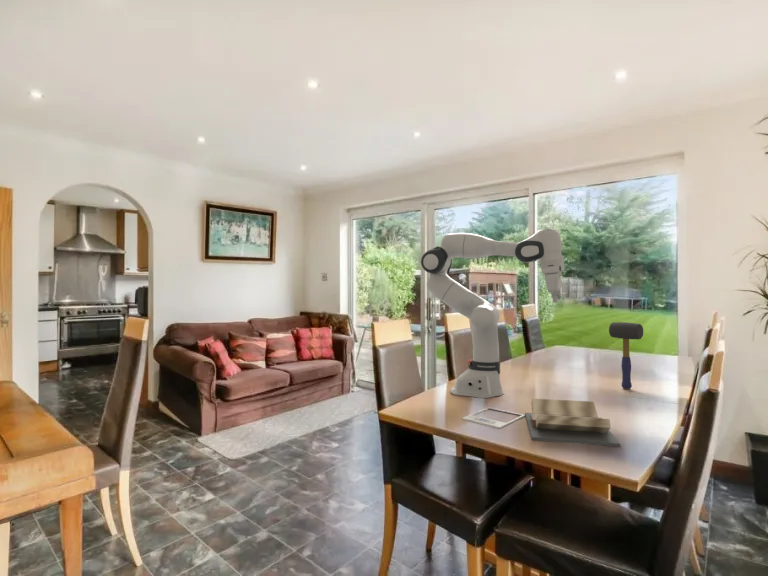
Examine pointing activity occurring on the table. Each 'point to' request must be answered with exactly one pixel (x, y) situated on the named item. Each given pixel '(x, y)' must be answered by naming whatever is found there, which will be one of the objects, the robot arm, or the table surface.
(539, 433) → the underlay mat
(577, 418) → the ash plank near
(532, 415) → the striped wooden plank
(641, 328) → the rubber mallet
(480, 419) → the photo frame
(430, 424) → the table surface
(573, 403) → the ash plank far
